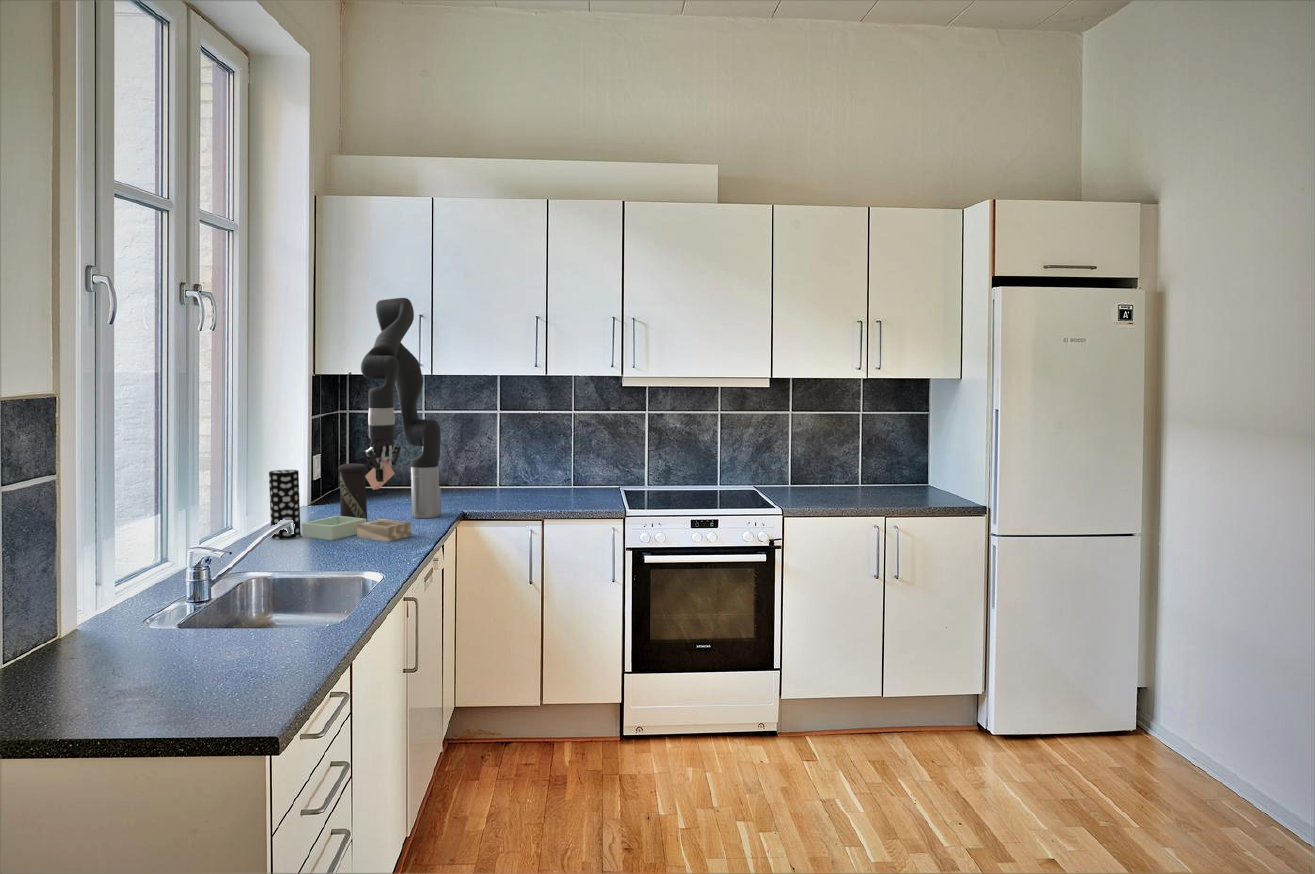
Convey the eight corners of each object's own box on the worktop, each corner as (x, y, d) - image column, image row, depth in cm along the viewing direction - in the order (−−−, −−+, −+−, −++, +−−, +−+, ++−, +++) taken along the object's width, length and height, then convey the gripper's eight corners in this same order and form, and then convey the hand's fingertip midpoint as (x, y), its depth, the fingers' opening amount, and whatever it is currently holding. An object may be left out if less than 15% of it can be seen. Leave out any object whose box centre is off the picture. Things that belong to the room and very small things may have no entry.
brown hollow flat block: (381, 534, 282) (380, 517, 282) (411, 538, 277) (411, 521, 276) (357, 540, 273) (356, 523, 273) (388, 544, 268) (387, 526, 267)
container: (334, 526, 296) (332, 464, 294) (350, 521, 304) (348, 461, 302) (358, 527, 294) (356, 465, 292) (373, 522, 302) (371, 462, 300)
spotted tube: (306, 534, 282) (304, 470, 280) (288, 540, 274) (286, 473, 272) (283, 533, 284) (281, 469, 282) (265, 538, 276) (262, 472, 275)
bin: (337, 531, 287) (337, 515, 287) (366, 534, 282) (366, 518, 282) (302, 539, 275) (302, 523, 274) (332, 543, 270) (331, 526, 269)
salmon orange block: (371, 475, 277) (386, 460, 274) (379, 488, 276) (394, 473, 273) (364, 476, 275) (380, 460, 272) (373, 489, 274) (388, 474, 270)
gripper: (388, 420, 279) (390, 477, 281) (354, 424, 267) (356, 483, 269) (407, 421, 276) (409, 478, 278) (374, 425, 264) (376, 484, 265)
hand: (383, 480), depth 273 cm, fingers closed on salmon orange block, 2 cm apart
